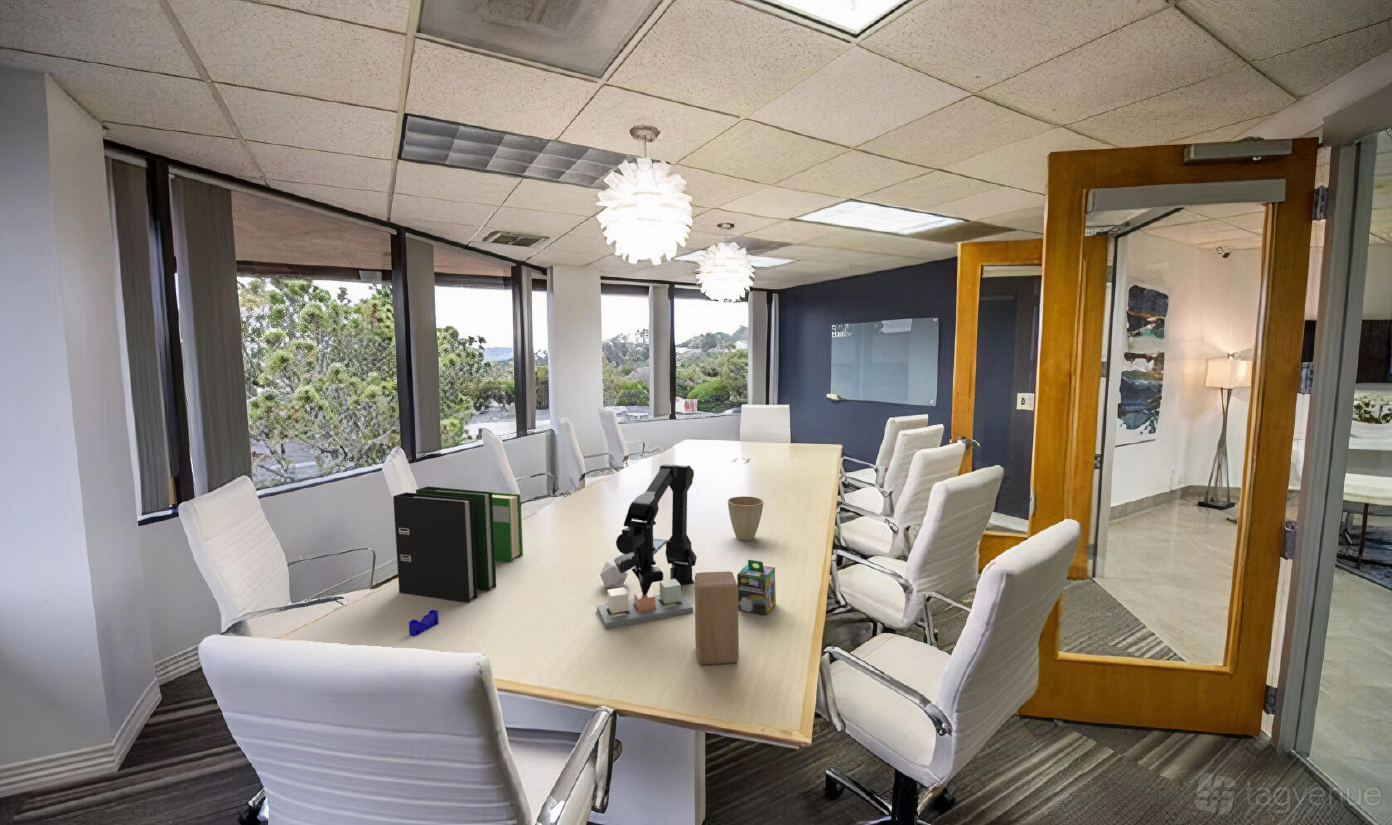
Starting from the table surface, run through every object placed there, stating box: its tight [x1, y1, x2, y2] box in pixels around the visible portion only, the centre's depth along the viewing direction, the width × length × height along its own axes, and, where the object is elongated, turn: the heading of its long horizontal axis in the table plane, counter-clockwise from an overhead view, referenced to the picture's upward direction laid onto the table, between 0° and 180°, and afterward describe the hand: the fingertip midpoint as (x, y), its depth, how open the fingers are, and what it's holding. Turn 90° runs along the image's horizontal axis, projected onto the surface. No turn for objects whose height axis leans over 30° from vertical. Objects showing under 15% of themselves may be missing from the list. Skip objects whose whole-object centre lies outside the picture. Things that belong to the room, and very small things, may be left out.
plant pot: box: [727, 495, 764, 542], centre depth 229 cm, size 15×15×16 cm
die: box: [599, 560, 629, 589], centre depth 182 cm, size 8×9×10 cm
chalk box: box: [736, 559, 777, 617], centre depth 165 cm, size 9×9×15 cm
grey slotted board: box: [596, 593, 694, 630], centre depth 163 cm, size 26×12×2 cm, turn 112°
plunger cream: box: [606, 586, 630, 614], centre depth 160 cm, size 5×5×5 cm
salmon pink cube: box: [633, 589, 656, 612], centre depth 163 cm, size 5×5×5 cm
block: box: [694, 570, 740, 665], centre depth 138 cm, size 10×10×20 cm
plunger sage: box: [659, 579, 682, 605], centre depth 166 cm, size 5×5×5 cm
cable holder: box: [408, 609, 439, 638], centre depth 154 cm, size 8×4×4 cm, turn 158°
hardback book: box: [483, 490, 524, 563], centre depth 210 cm, size 18×7×24 cm, turn 72°
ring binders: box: [392, 485, 497, 604], centre depth 179 cm, size 27×15×32 cm, turn 71°
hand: (644, 594), depth 163 cm, fingers closed, pressing on salmon pink cube
